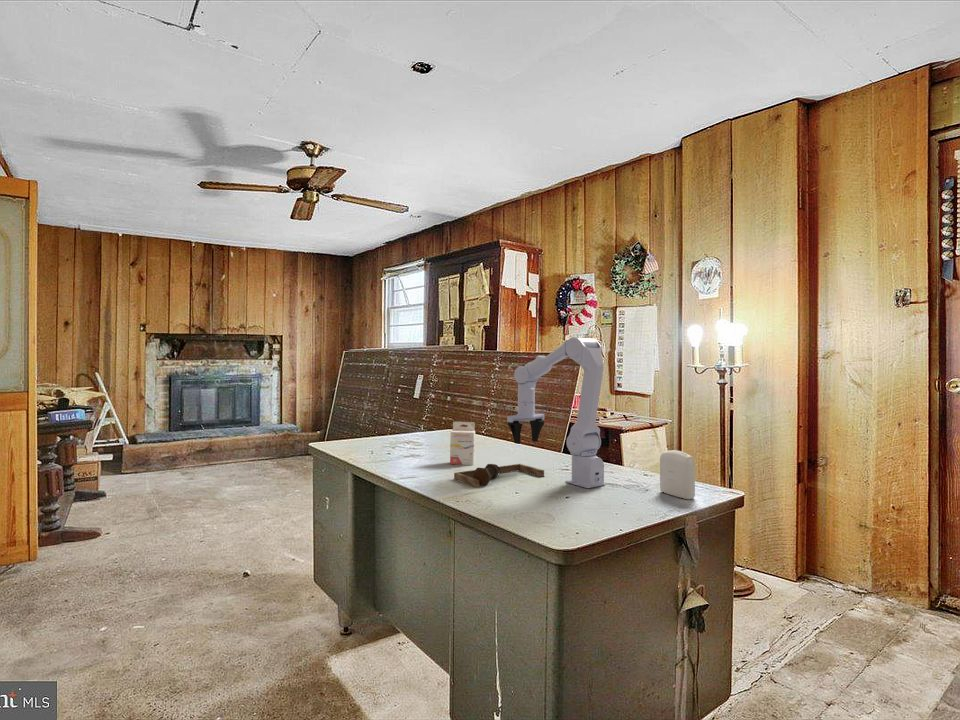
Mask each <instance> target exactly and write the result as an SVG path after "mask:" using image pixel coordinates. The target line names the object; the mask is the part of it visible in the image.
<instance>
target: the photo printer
mask: <svg viewBox="0 0 960 720" xmlns="http://www.w3.org/2000/svg"><path fill="white" fill-rule="evenodd" d="M659 465H660V466H659V490H660V492H661V493H663V492H664V494H668V495H671V496H673V497H676V498H677V497H678V498H681V499H684V500H693V499H694V498H695V497H696V486H695V485H696V483H695V482H696V481H695V480H696V478H695V477H696V476H695V475H696V474H695V472H696V469H695V467H696V464H695V458H694V457H693V456H692V455H690V454H688V453H686V452H685V451H681V450H676V449H674V450H673V449H672V450H671V449H670V450H665V451H662V452H661V454H660V457H659Z"/></svg>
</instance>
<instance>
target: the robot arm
mask: <svg viewBox="0 0 960 720" xmlns="http://www.w3.org/2000/svg"><path fill="white" fill-rule="evenodd" d="M602 351H603V346H602V345H601V343H600V342H599V341H598V340H597V339H596V338H593V337H586V338H585V337H574V336H573V337H570V338H569V339H568V340H564V342H563V343H562V344H561V345H560V346H558V347H557V348H556V349H554V350H553V351H551V352H550V353H549V354H548V355H546V356H545V355H536V356H535V359H534V360H532V361H530V362H527V363H526V364H525V366H523V365H519V366H517V367H516V368H515V371H514V374H513V377H514V380H515V382H516V383H517V414H514V415H507V417H506V418H507V419H506V420H507V425H508V427H509V430H510V431H511V434H512V438H513V442H514V444H516V445H520V444H521V433H522V429H523V423H520V422H528V421H529V424H530V429H531V440H532V442H535V443H537V442H538V441H539V437H540V434H541V430H542V428H543V426H544V425H545V414H544V413H536V387H537V382H538V380H539V378H541V377H542V376H544V375H546V374H547V373H549V372H550V371H551V370H552V366H553V365H555V364H557V363H559V362H561V361H563V360H564V359H567V358H570V359H571V360H573V361H574V362H575V363H577V364H578V365H579V366H580V367H581V369H582V370H583V374H582V381H581V383H582V384H581V390H580V397H579V404H578V412H577V418H576V422H575V423H574V424H573V425H572V426H571V427H570V432H569V434H568V436H567V437H566V448H567V450H568V451H569V452H570V455H571V479H565V483H568V484H571V485H574V486H577V487H582V488H585V489H590V488H596V487H602V486H606V485H607V484H606V482H605V462H604V461H603V459H602V458H601V457H600V456H599V457H598V456H597V454H598V450H599V449H600V448H601V445H602V439H601V429H600V427H598V425H597V423H596V421H597V416H598V409H599V401H600V394H601V386H602V381H603V373H604V362H603V357H602Z"/></svg>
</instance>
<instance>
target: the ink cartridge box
mask: <svg viewBox="0 0 960 720" xmlns="http://www.w3.org/2000/svg"><path fill="white" fill-rule="evenodd" d="M475 424H476V423H475V422H472V421H469V422H468V421H453V422H452V430H451V431H450V446H449V447H450V449H449V451H450V453H449V463H450V464H449V465H453V464H454V465H455V466H456V465H459V466H474V465H475V463H476V431H475V429H476V425H475ZM463 425H464V426H463Z"/></svg>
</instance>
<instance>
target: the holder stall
mask: <svg viewBox="0 0 960 720" xmlns="http://www.w3.org/2000/svg"><path fill="white" fill-rule="evenodd" d="M498 467H499V468H500V471H499V474H504V473H505V472H506V473H511V471H512V472H518V471H517V470H519V471H520V470H521V471H520V472H523V471H524V472H523V473H526V472H528V473H527V474H530V473H531V474H530V475H533V474H535V475H534V476H537V475H538V477H540V476H544V477H545V469H541V468H537V467H533V466H530V465H526V464H523V463H516V464H514V463H513V464H509V465H500V466H498ZM475 470H476V469H473V470H465V471H464V470H463V471H458V472H454V473H453V476H454V477H453V479H454V480H455V479H456V480H455V481H458V480H459V481H458V482H460V481H461V482H460V483H463V482H464V483H463V484H466V485H468V484H469V486H471V485H472V487H474V488H479V487H480V486H479V480H477V479H474V478H473V477H472V475H473V473H474V472H475Z"/></svg>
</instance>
